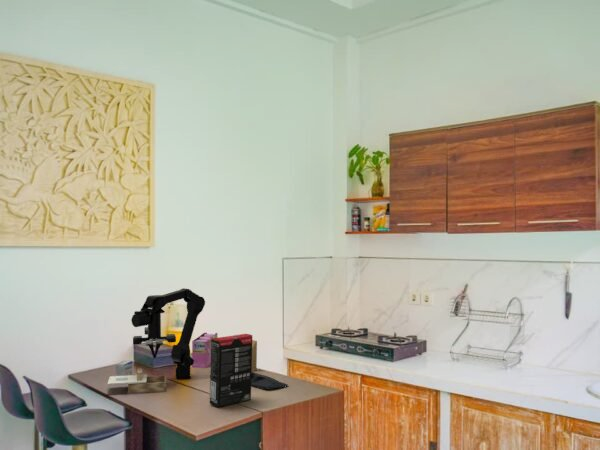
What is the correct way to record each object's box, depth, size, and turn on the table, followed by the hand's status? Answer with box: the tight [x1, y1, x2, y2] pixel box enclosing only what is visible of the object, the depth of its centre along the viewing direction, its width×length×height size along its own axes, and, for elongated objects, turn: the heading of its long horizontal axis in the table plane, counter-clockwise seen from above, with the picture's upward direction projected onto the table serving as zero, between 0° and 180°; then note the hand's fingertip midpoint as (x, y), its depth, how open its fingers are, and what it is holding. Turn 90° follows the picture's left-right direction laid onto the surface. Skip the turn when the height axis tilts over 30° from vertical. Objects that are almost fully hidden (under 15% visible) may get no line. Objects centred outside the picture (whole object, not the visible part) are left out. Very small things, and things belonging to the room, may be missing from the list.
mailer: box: [127, 375, 167, 395], centre depth 259 cm, size 16×12×4 cm
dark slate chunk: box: [251, 371, 288, 391], centre depth 268 cm, size 15×22×5 cm
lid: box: [107, 367, 148, 386], centre depth 257 cm, size 16×12×4 cm
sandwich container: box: [252, 339, 258, 372], centre depth 289 cm, size 9×15×15 cm, turn 144°
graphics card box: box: [209, 333, 253, 408], centre depth 240 cm, size 17×7×27 cm, turn 133°
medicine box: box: [115, 359, 134, 376], centre depth 272 cm, size 8×4×9 cm, turn 168°
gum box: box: [191, 332, 218, 369], centre depth 309 cm, size 24×8×14 cm, turn 173°
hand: (154, 358), depth 265 cm, fingers closed
